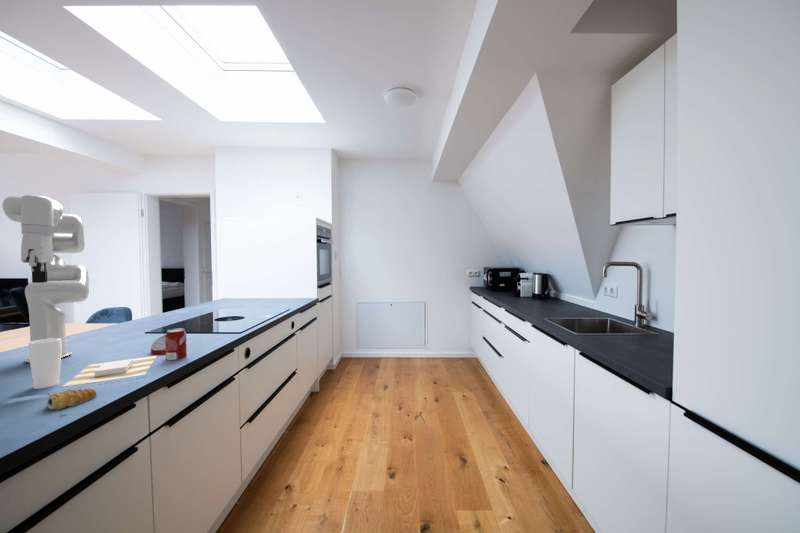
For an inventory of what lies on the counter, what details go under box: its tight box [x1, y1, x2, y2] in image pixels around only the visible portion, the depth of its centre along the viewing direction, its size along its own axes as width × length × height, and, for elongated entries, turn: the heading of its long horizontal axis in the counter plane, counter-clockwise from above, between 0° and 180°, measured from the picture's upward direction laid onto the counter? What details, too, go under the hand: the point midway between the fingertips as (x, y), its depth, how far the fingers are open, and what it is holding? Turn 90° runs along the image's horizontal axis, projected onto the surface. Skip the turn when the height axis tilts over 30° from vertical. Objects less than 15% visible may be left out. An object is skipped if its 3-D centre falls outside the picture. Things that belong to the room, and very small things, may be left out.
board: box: [61, 355, 158, 392], centre depth 109 cm, size 24×20×1 cm
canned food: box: [150, 334, 166, 356], centre depth 131 cm, size 11×10×10 cm
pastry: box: [46, 388, 97, 411], centre depth 86 cm, size 9×7×4 cm
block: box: [95, 358, 134, 377], centre depth 108 cm, size 2×8×10 cm
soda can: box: [164, 327, 188, 361], centre depth 122 cm, size 7×7×12 cm
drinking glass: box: [28, 338, 62, 390], centre depth 95 cm, size 7×7×15 cm
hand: (39, 282), depth 110 cm, fingers closed
